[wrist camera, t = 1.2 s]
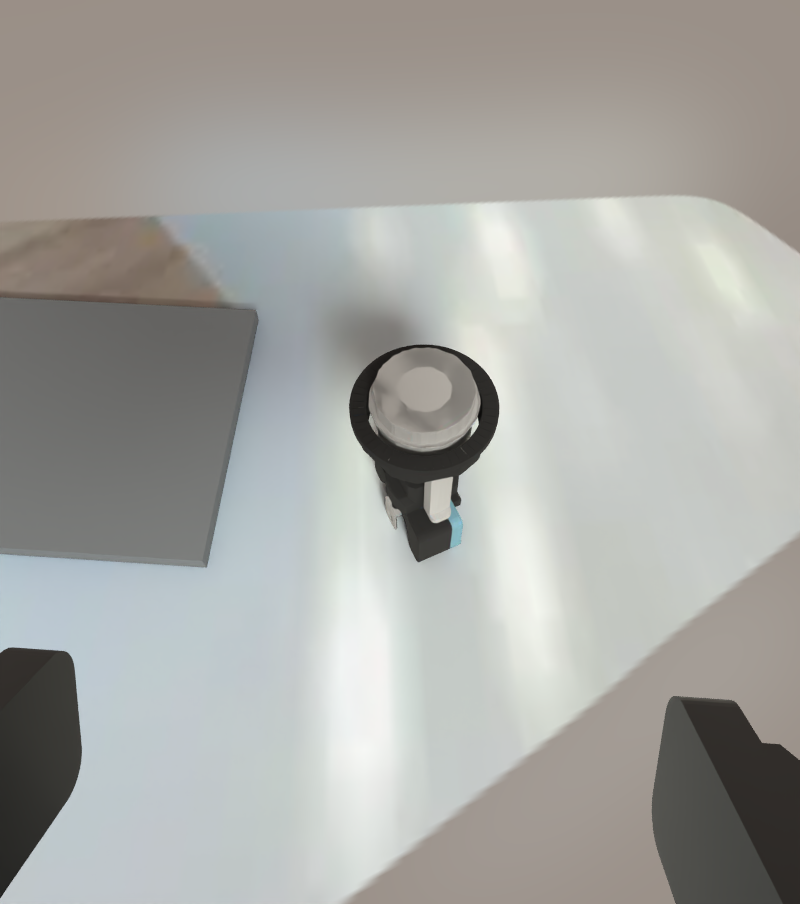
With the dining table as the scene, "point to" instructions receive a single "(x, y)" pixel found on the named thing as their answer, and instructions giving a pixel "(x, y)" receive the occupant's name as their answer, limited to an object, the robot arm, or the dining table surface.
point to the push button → (424, 435)
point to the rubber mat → (117, 427)
